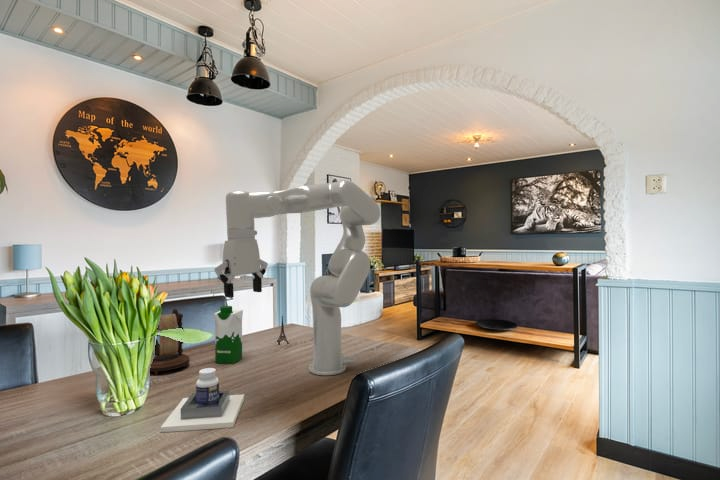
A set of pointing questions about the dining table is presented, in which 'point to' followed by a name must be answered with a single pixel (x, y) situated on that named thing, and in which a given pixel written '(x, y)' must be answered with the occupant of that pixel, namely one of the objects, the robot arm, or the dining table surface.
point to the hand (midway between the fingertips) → (243, 294)
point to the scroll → (169, 346)
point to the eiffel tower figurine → (281, 334)
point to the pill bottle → (207, 387)
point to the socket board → (225, 421)
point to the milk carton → (228, 335)
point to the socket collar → (205, 407)
